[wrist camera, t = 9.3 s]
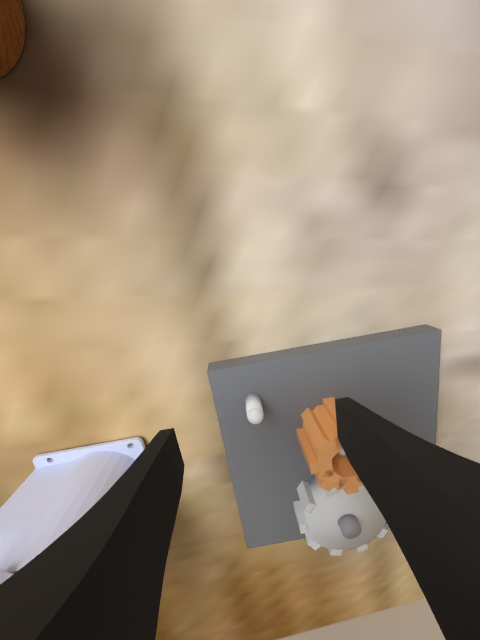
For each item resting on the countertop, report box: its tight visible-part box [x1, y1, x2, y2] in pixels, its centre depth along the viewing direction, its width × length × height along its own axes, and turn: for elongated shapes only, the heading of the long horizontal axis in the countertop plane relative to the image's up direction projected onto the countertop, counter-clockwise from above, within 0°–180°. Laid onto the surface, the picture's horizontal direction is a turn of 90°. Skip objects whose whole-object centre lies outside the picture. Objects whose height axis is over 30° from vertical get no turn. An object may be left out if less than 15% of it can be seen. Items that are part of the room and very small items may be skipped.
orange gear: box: [296, 397, 364, 494], centre depth 19 cm, size 6×6×4 cm
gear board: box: [207, 325, 441, 556], centre depth 20 cm, size 18×19×4 cm
